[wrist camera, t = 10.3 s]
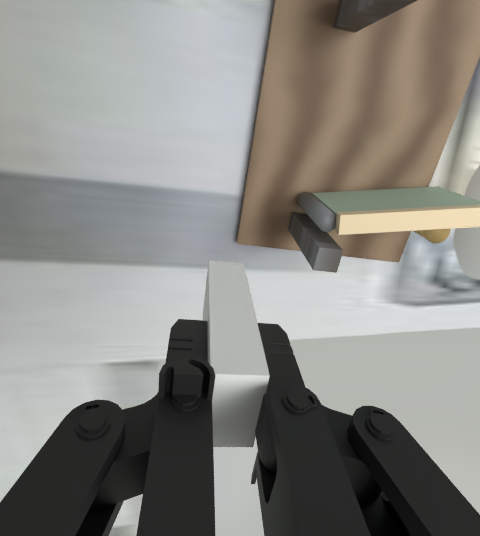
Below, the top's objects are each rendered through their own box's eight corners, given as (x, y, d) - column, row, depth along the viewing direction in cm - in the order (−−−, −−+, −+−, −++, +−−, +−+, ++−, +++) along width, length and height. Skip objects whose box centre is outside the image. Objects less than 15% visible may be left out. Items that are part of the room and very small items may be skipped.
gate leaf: (297, 192, 40) (322, 216, 32) (438, 184, 41) (500, 206, 32) (297, 208, 41) (320, 236, 32) (434, 200, 42) (494, 225, 33)
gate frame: (236, 240, 44) (245, 288, 33) (282, -51, 32) (323, -144, 20) (395, 259, 47) (455, 309, 36) (495, -1, 35) (638, -55, 23)
